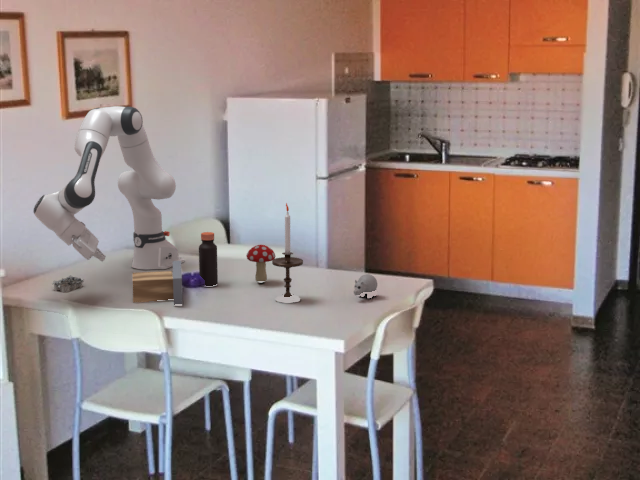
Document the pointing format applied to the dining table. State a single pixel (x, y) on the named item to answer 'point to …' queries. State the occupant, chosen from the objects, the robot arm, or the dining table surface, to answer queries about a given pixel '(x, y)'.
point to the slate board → (177, 282)
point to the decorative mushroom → (260, 260)
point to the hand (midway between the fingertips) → (104, 259)
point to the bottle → (208, 259)
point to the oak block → (152, 286)
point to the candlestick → (287, 256)
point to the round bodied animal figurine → (365, 284)
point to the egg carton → (67, 284)
